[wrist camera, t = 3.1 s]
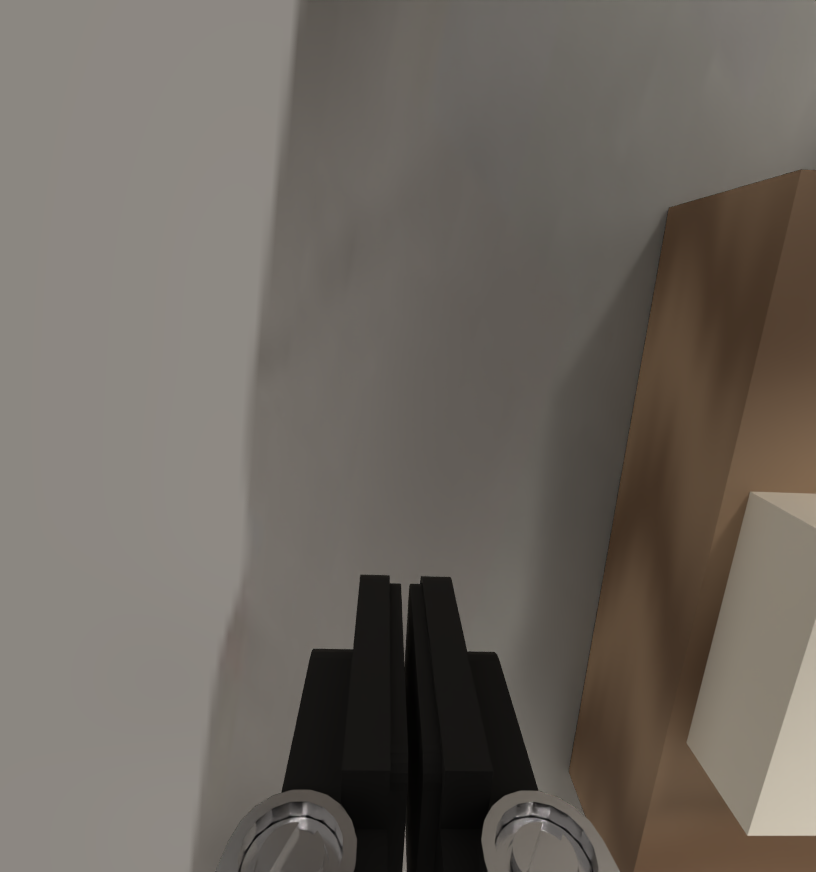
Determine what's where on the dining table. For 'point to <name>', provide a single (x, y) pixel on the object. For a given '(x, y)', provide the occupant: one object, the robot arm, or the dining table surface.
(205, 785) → the dining table surface
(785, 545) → the cream square block
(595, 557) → the dining table surface
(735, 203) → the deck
